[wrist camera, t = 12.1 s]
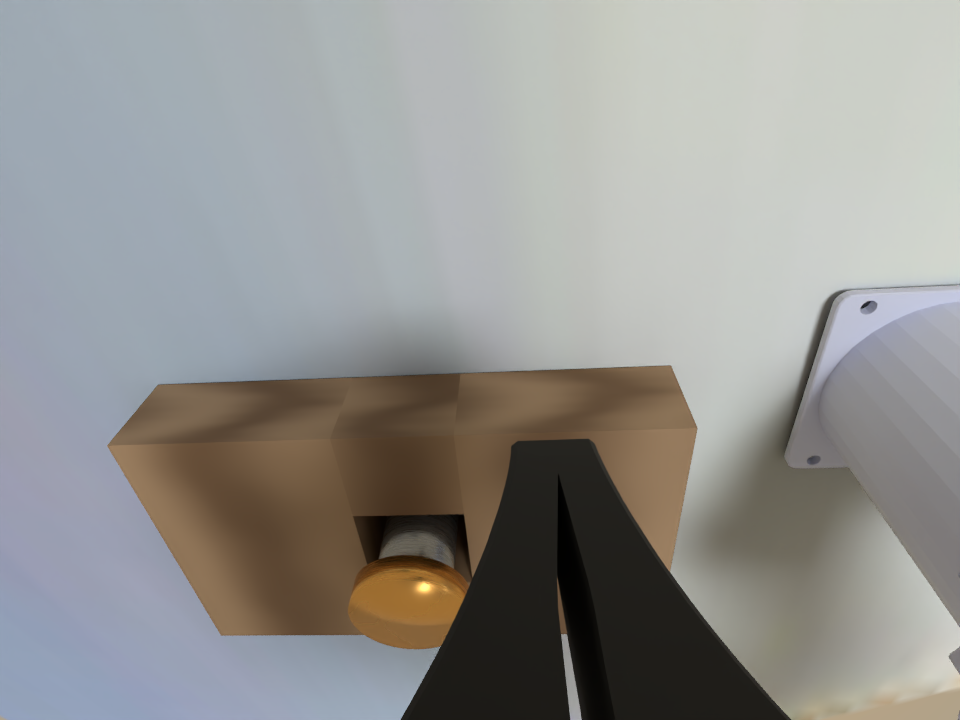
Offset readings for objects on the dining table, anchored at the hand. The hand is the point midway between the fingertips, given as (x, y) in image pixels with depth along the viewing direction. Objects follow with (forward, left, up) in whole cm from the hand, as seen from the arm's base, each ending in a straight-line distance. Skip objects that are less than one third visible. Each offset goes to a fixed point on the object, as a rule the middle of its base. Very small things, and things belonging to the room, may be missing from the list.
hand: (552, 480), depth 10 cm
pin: (+5, +12, -10) cm, 16 cm away
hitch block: (+5, +11, -10) cm, 16 cm away
